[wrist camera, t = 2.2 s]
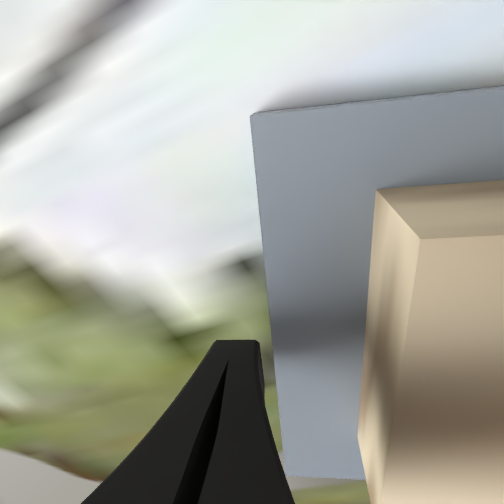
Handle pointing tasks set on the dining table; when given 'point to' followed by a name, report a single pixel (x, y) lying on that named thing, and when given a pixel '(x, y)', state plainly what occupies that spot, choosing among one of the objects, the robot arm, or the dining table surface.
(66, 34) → the dining table surface
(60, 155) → the dining table surface
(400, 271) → the t block
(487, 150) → the board
